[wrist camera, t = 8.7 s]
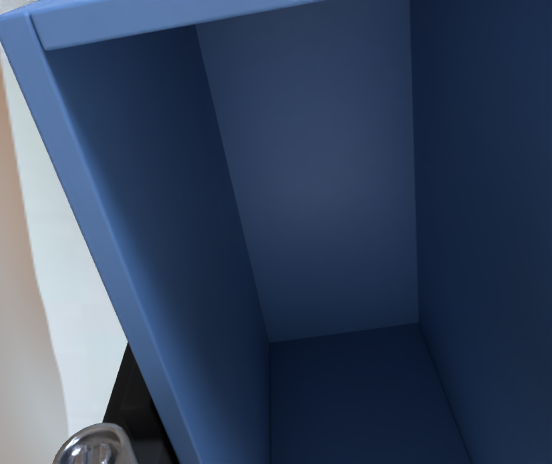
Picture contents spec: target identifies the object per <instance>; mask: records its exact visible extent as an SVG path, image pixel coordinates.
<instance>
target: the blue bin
mask: <svg viewBox="0 0 552 464" xmlns="http://www.w3.org/2000/svg"><path fill="white" fill-rule="evenodd" d="M0 41H1V44H2V46H3V48H4V51H5V53H6V56H7V58H8V60H9V63H10V65H11V67H12V70H13V72H14V74H15V77H16V79H17V81H18V84H19V86H20V89H21V91H22V93H23V96H24V98H25V100H26V103H27V105H28V107H29V110H30V112H31V114H32V117H33V119H34V121H35V124H36V126H37V129H38V131H39V133H40V136H41V138H42V140H43V143H44V145H45V147H46V150H47V152H48V154H49V157H50V159H51V162H52V164H53V166H54V169H55V171H56V173H57V176H58V178H59V180H60V183H61V185H62V187H63V190H64V192H65V194H66V197H67V199H68V202H69V204H70V206H71V209H72V211H73V213H74V216H75V218H76V220H77V223H78V225H79V227H80V230H81V232H82V235H83V237H84V239H85V242H86V244H87V246H88V249H89V251H90V253H91V256H92V258H93V260H94V263H95V265H96V267H97V270H98V272H99V275H100V277H101V279H102V282H103V284H104V286H105V289H106V291H107V293H108V296H109V298H110V300H111V303H112V305H113V307H114V310H115V312H116V315H117V317H118V319H119V322H120V324H121V326H122V329H123V331H124V333H125V336H126V338H127V340H128V343H129V345H130V348H131V350H132V352H133V355H134V357H135V359H136V362H137V364H138V366H139V369H140V371H141V373H142V376H143V378H144V380H145V383H146V385H147V388H148V390H149V392H150V395H151V397H152V399H153V402H154V404H155V406H156V409H157V411H158V413H159V416H160V418H161V421H162V423H163V425H164V428H165V430H166V432H167V435H168V437H169V439H170V442H171V444H172V446H173V449H174V451H175V453H176V456H177V458H178V461H179V463H180V464H552V0H39V1H36V2H34V3H31V4H28V5H26V6H23V7H20V8H18V9H15V10H12V11H10V12H7V13H5V14H2V15H0Z"/></svg>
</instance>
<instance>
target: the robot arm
mask: <svg viewBox="0 0 552 464" xmlns="http://www.w3.org/2000/svg"><path fill="white" fill-rule="evenodd" d="M53 464H180V463H179V461H178V458H177V456H176V453H175V451H174V449H173V446H172V444H171V442H170V439H169V437H168V435H167V432H166V430H165V428H164V425H163V423H162V421H161V418H160V416H159V413H158V411H157V409H156V406H155V404H154V402H153V399H152V397H151V395H150V392H149V390H148V388H147V385H146V383H145V380H144V378H143V376H142V373H141V371H140V369H139V366H138V364H137V362H136V359H135V357H134V355H133V352H132V350H131V348H130V345H129V343H127V346H126V350H125V353H124V356H123V359H122V362H121V365H120V369H119V372H118V375H117V378H116V381H115V384H114V387H113V391H112V394H111V397H110V400H109V403H108V406H107V410H106V413H105V416H104V419H103V422H102V423H99V424H94V425H91V426H89V427H86V428H84V429H82V430H80V431H79V432H77V433H76V434H74V435H73V436H71V437H70V438H69V439H68V440H67V441H66V442H65V443H64V444H63V445H62V447H61V448H60V450H59V451H58V453H57V454H56V456H55V459H54V461H53Z"/></svg>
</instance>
